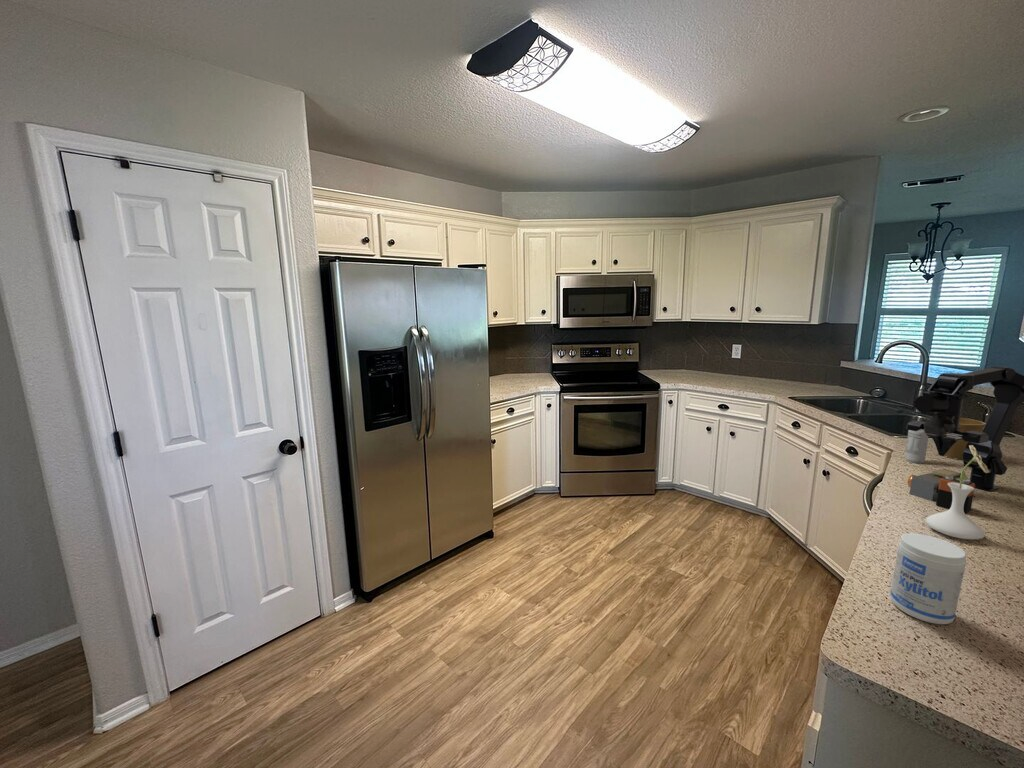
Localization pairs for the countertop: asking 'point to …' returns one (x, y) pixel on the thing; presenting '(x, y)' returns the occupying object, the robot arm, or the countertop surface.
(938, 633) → the countertop surface
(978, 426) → the plant pot
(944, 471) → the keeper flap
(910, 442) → the energy drink can
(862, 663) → the countertop surface
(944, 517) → the flower in vase
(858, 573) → the countertop surface
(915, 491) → the drawbar block
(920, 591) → the supplement tub
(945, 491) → the battery
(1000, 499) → the countertop surface
